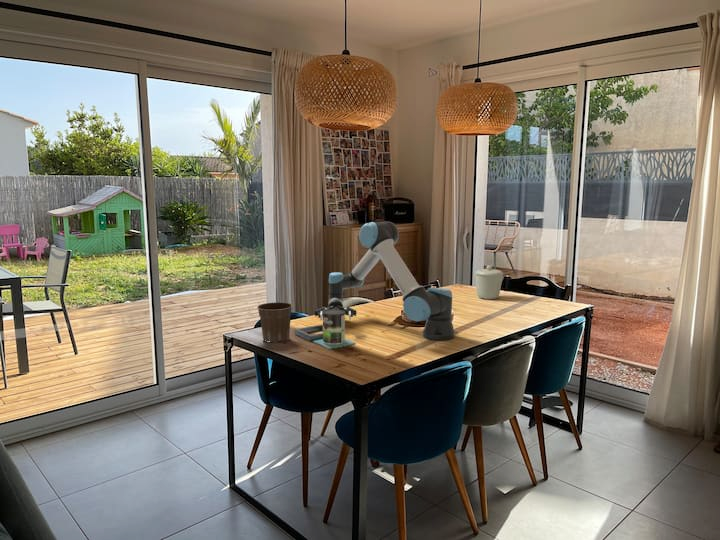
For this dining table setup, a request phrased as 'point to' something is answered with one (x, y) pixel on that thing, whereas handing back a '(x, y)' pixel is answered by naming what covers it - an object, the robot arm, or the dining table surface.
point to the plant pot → (275, 321)
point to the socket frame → (303, 331)
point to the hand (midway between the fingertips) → (335, 317)
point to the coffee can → (333, 326)
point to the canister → (488, 282)
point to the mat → (346, 343)
